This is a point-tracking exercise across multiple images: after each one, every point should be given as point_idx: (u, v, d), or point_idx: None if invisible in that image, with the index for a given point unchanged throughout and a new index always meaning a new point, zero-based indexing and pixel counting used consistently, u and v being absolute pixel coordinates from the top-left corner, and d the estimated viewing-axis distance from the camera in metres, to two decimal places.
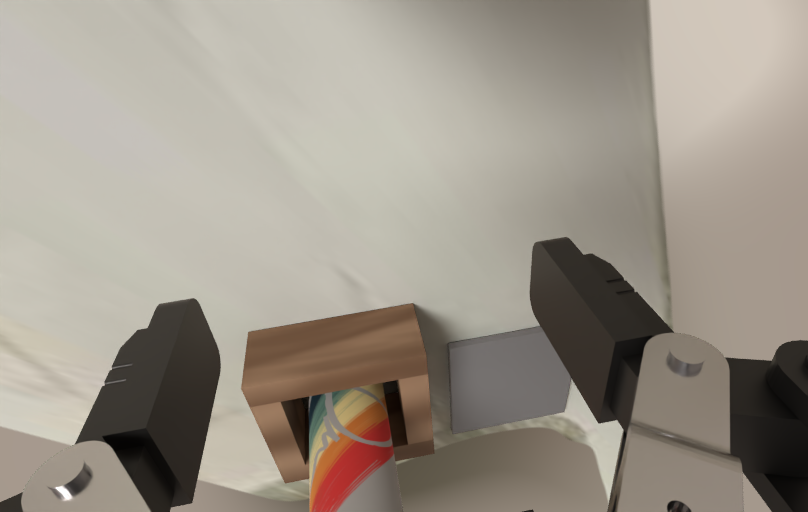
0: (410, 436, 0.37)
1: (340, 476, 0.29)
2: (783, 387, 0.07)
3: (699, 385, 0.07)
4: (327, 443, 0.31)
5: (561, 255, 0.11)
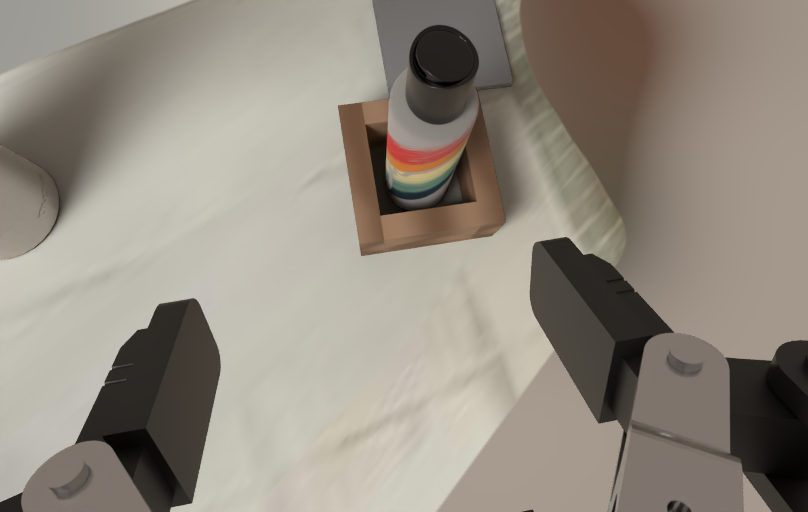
0: None
1: (389, 145, 0.34)
2: (783, 387, 0.07)
3: (699, 385, 0.07)
4: (393, 168, 0.37)
5: (561, 255, 0.11)
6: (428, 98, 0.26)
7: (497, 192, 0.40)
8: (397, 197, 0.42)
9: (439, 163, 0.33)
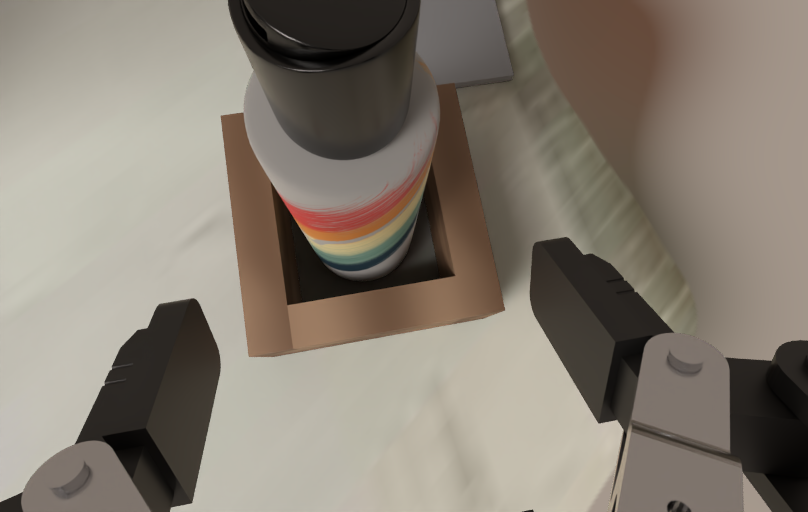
0: None
1: None
2: (783, 387, 0.07)
3: (699, 385, 0.07)
4: None
5: (561, 255, 0.11)
6: (293, 99, 0.10)
7: (490, 259, 0.23)
8: (326, 264, 0.25)
9: (369, 230, 0.17)
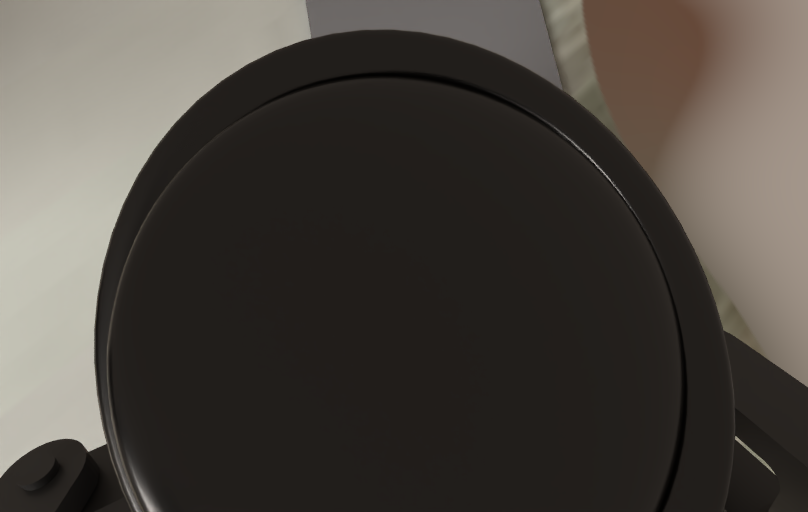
0: None
1: None
2: None
3: None
4: None
5: None
6: None
7: None
8: None
9: None
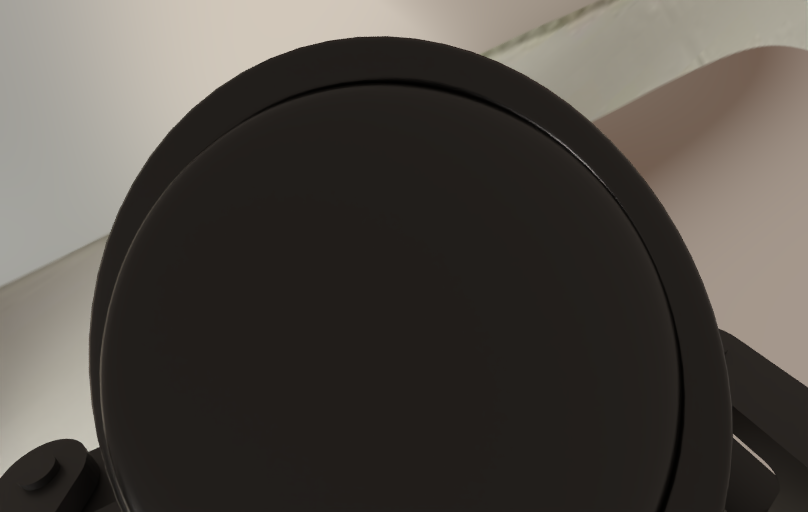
0: None
1: None
2: None
3: None
4: None
5: None
6: None
7: None
8: None
9: None
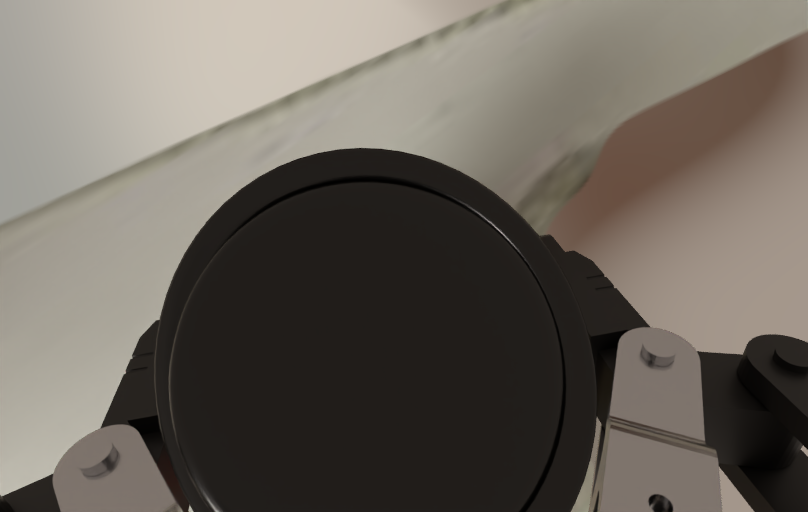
0: None
1: None
2: (754, 381, 0.07)
3: (670, 378, 0.07)
4: None
5: None
6: None
7: None
8: None
9: None
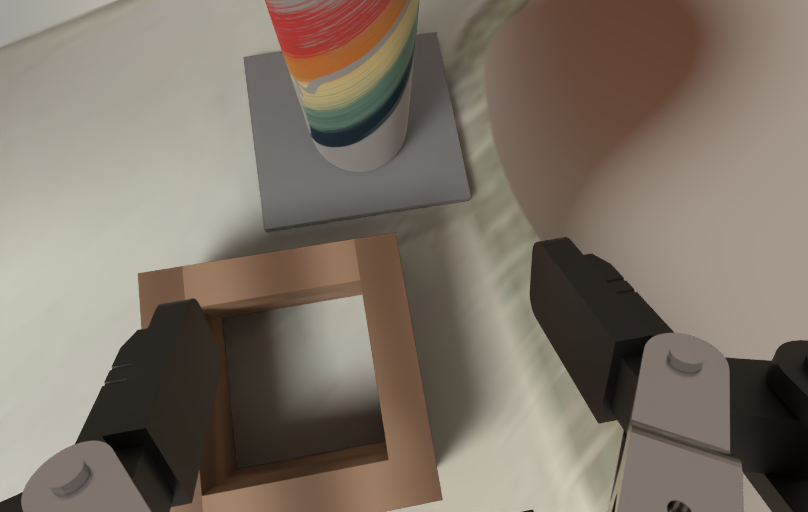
0: (338, 277, 0.23)
1: (274, 27, 0.18)
2: (783, 387, 0.07)
3: (699, 385, 0.07)
4: (294, 80, 0.21)
5: (561, 255, 0.11)
6: None
7: (427, 440, 0.21)
8: (322, 145, 0.26)
9: (359, 51, 0.17)
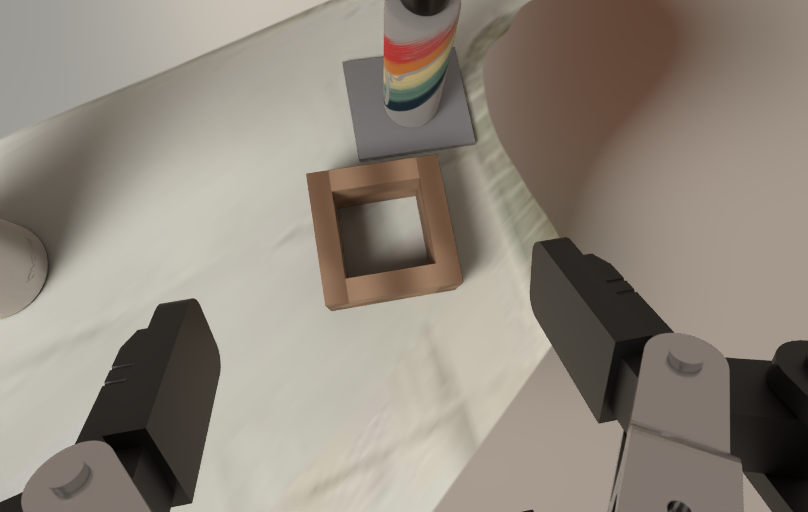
0: (408, 176, 0.44)
1: (386, 49, 0.40)
2: (783, 387, 0.07)
3: (699, 385, 0.07)
4: (389, 74, 0.42)
5: (561, 255, 0.11)
6: None
7: (455, 254, 0.42)
8: (394, 111, 0.47)
9: (428, 61, 0.38)
